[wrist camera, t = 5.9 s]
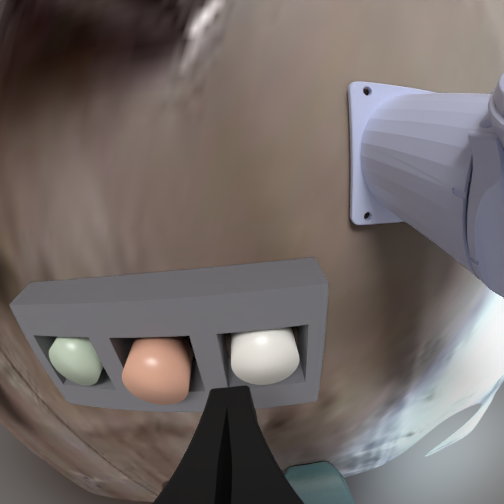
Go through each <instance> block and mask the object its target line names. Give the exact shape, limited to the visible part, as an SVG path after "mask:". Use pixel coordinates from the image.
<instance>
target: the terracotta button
mask: <svg viewBox="0 0 504 504" xmlns="http://www.w3.org/2000/svg"><path fill="white" fill-rule="evenodd" d="M192 358H193V351H192V348H191V346H190V344H189V343H188V341H187V340H186V339H185V338H183V337H182V336H171V337H138V338H135V339H134V342H133V344H132V347H131V350H130V352H129V355H128V358H127V361H126V364H125V367H124V369H123V372H122V381H123V383H124V385H125V387H126V388H127V389H128V390H129V391H130V392H131V393H132V394H133V395H135V396H136V397H138V398H140V399H142V400H144V401H146V402H149V403H153V404H159V405H171V404H176V403H179V402H181V401H182V400H184V399H185V398H186V396H187V394H188V390H189V382H190V374H191V366H192Z"/></svg>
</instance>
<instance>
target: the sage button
mask: <svg viewBox="0 0 504 504" xmlns="http://www.w3.org/2000/svg"><path fill="white" fill-rule="evenodd" d="M49 358H50V361H51V363H52V365H53V366H54V367H55V369H56V370H57V371H58V372H59V373H60V374H61V375H63V376H64V377H65V378H67V379H68V380H70V381H72V382H74V383H77V384H80V385H93V384H95V383H96V382H97V381H98V379H99V376H100V374H101V371H102V369H103V365H102V363H101V361H100V359H99V357H98V355H97V353H96V351H95V349H94V347H93V345H92V343H91V341H90V339H89V338H88V337H57V338H56V340H55V341H54V343H53V345H52V346H51V348H50V350H49Z"/></svg>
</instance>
